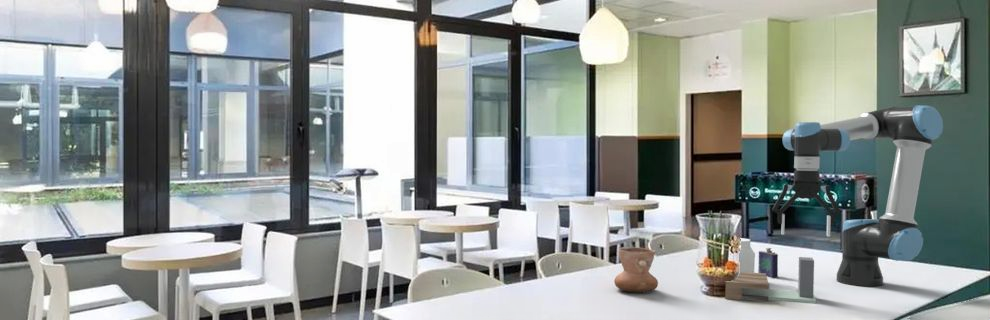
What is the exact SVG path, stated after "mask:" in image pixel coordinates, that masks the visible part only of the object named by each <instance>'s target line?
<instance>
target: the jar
mask: <svg viewBox="0 0 990 320" xmlns="http://www.w3.org/2000/svg"><path fill="white" fill-rule="evenodd" d="M739 238H740V239H741V250H740V253H739V262H740V272H749V273H755V266H756V265H755V261H756V260H755V259H756V258H755V257H756V252H755V251H754V250H753V249H752V247H751V239H750V238H749V239H748V238H743V237H739Z"/></svg>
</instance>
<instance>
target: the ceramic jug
mask: <svg viewBox="0 0 990 320" xmlns="http://www.w3.org/2000/svg"><path fill="white" fill-rule="evenodd" d="M618 256H619V260H620V263H621V266H622V268H623V271H622V272H619V274H617V275H616V276H615V277H614V281H613V282H614V285H615V287H616V288H618V290H621V291H623V292H625V293H632V294H645V293H650V292H652V291H654V290H656V289H657V288H658V285H659V280H658V279H657V278H656V276H654V275H653V274H652V273H650V269H651V267H652V265H653V261H654V259H655V256H656V250H654V249H650V248H645V247H639V246H638V247H636V246H628V247H626V246H624V247H619V248H618Z"/></svg>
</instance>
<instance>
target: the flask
mask: <svg viewBox="0 0 990 320" xmlns="http://www.w3.org/2000/svg"><path fill="white" fill-rule="evenodd" d="M771 249H772V247H767V248H766V247H765V250H766V251H765V250H758V270H757V273H765V274H766V275H767V277H768V276H769V277H768V278H771V279H779V278H778V276H779V275H778V273H779V272H778V271H779V270H778V267H779V266H778V263H779V262H778V259H779V258H778V257H779V254H778V253H776V252H775V251H774V252H773V251H772V250H771Z"/></svg>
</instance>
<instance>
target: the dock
mask: <svg viewBox="0 0 990 320" xmlns="http://www.w3.org/2000/svg"><path fill="white" fill-rule="evenodd" d="M742 288H756V289H770V285H769V280H768V276H767V275H766V274H765V273H758V272H754V273H749V272H740V274H739V276H738V278H737V279H735V280H731V281H725V295H724V296H725V297H724V298H725V299H727V300H740V301H742V300H752V301H760V302H761V301H763V302H768V301H769V300H768V296H756V295H743V294H742Z"/></svg>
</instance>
